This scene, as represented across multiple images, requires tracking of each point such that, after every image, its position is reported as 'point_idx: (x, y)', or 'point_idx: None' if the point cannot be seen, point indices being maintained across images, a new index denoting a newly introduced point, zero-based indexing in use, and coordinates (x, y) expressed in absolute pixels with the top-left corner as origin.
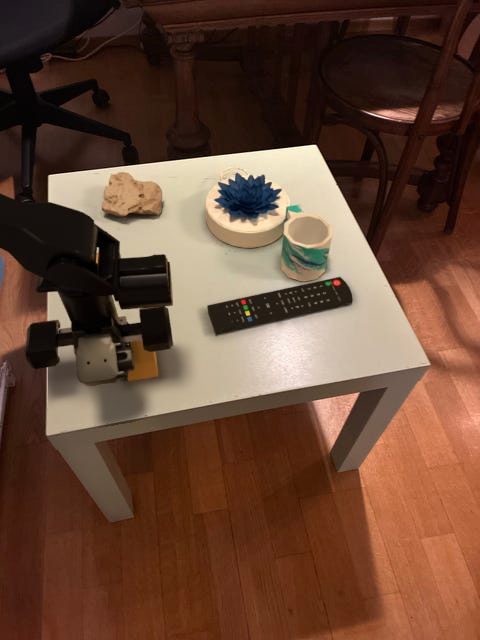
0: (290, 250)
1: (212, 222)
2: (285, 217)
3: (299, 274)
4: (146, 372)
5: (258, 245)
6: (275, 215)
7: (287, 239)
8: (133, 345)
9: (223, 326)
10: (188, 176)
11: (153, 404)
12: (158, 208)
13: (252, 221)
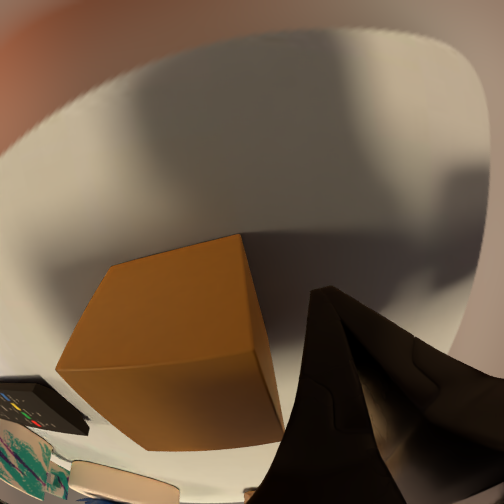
0: (16, 472)
1: (156, 500)
2: (68, 485)
3: (8, 430)
4: (133, 288)
5: (86, 465)
6: (80, 490)
7: (22, 488)
8: (215, 435)
9: (27, 397)
10: (220, 500)
11: (93, 127)
12: (247, 498)
13: (99, 496)
